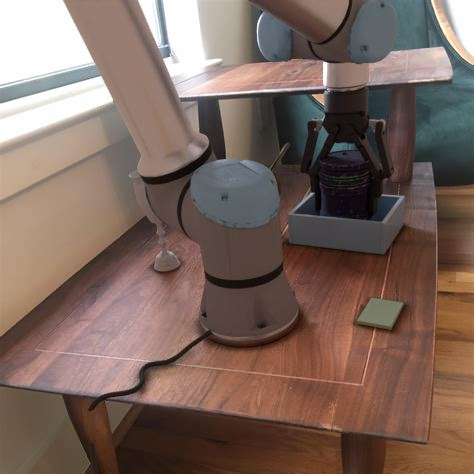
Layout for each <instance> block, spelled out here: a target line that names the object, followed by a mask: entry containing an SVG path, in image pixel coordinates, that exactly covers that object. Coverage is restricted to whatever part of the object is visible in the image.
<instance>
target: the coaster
mask: <svg viewBox="0 0 474 474" xmlns="http://www.w3.org/2000/svg"><path fill="white" fill-rule="evenodd" d="M403 308H404V302H402V301H396V300H389V299H382V298H376V297H370V299H369V300H368V302H367V304H366V305H365V306H364V308H363V310H362V312H361V313H360V315H359V317H358V318H357V320H356V324H357V325H363V326H369V327H374V328H379V329H384V330H389V331H391V330H392V329H393V327H394V325H395V323H396V321H397V319H398V318H399V316H400V314H401V311H402V309H403Z"/></svg>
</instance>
